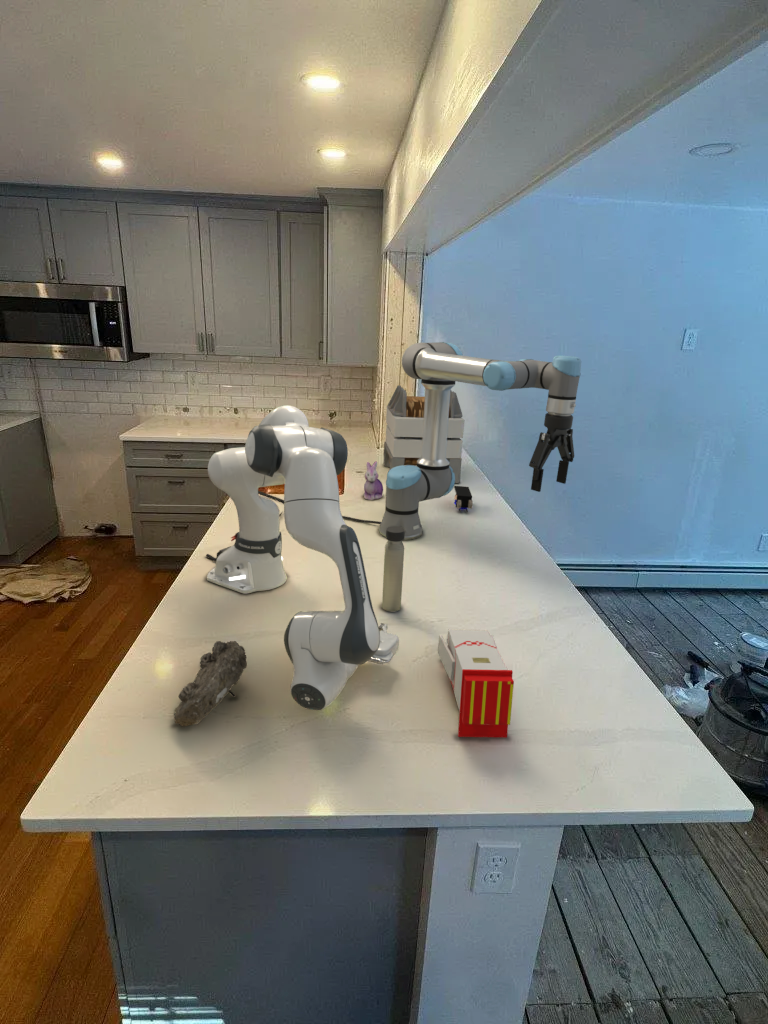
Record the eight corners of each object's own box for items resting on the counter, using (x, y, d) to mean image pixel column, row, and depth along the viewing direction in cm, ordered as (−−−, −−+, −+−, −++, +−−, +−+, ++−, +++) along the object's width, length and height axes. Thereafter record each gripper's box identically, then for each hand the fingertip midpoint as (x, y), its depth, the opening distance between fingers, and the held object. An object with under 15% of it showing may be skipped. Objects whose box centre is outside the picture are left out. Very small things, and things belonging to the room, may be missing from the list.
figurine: (368, 501, 231) (369, 466, 226) (357, 494, 239) (358, 459, 234) (388, 499, 235) (390, 464, 230) (377, 492, 244) (378, 458, 239)
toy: (488, 613, 130) (523, 677, 101) (484, 667, 133) (517, 744, 104) (435, 612, 130) (455, 676, 101) (432, 666, 133) (451, 743, 103)
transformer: (382, 463, 289) (386, 382, 275) (445, 464, 293) (451, 384, 279) (390, 482, 257) (394, 392, 243) (460, 483, 261) (468, 394, 247)
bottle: (404, 608, 151) (409, 531, 143) (390, 613, 148) (394, 536, 140) (392, 600, 154) (396, 525, 147) (378, 605, 151) (381, 529, 144)
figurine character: (472, 517, 222) (467, 501, 236) (475, 500, 219) (469, 484, 233) (455, 517, 222) (451, 500, 236) (457, 499, 219) (452, 484, 232)
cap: (408, 539, 144) (408, 530, 143) (393, 543, 141) (394, 534, 140) (396, 533, 147) (396, 524, 146) (382, 537, 144) (382, 528, 144)
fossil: (197, 643, 123) (246, 611, 118) (228, 672, 126) (277, 642, 121) (151, 720, 104) (207, 686, 99) (188, 752, 107) (245, 721, 102)
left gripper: (388, 652, 115) (408, 619, 128) (298, 630, 121) (325, 600, 134) (387, 678, 117) (406, 643, 130) (298, 655, 124) (325, 624, 136)
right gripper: (547, 420, 147) (535, 497, 154) (594, 411, 163) (581, 482, 171) (522, 415, 152) (512, 490, 159) (570, 407, 168) (559, 476, 176)
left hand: (365, 621), depth 132 cm, fingers open, 8 cm apart
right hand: (548, 486), depth 165 cm, fingers open, 13 cm apart
